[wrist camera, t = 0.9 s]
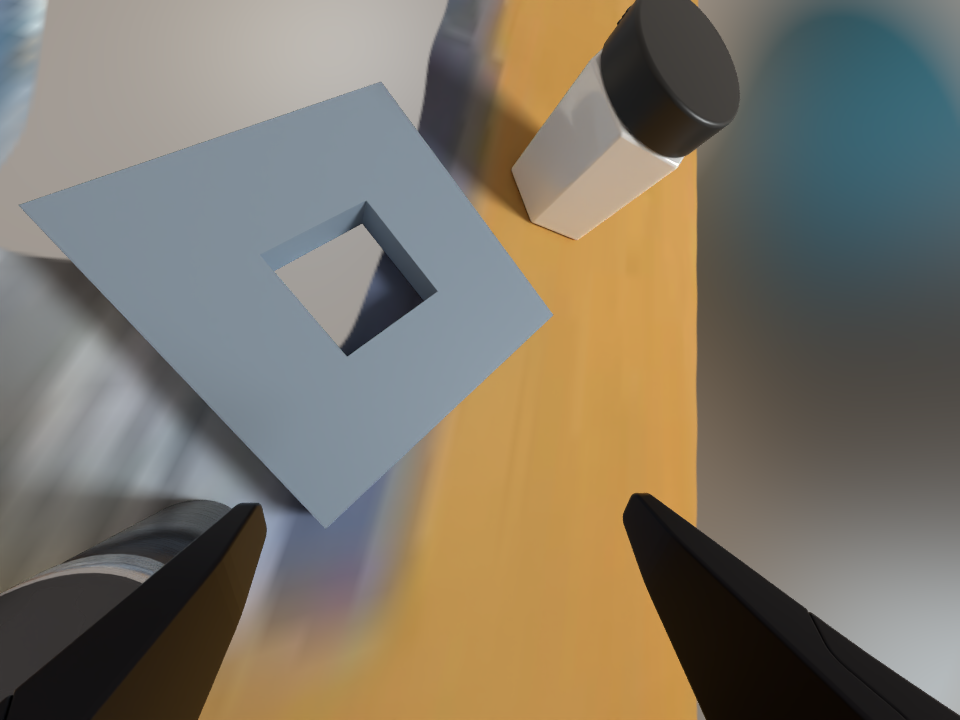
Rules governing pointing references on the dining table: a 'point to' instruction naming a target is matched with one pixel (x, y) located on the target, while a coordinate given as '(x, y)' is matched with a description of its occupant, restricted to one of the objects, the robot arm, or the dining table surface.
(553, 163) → the jar
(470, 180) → the dining table surface
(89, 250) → the mount block
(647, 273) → the dining table surface
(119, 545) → the lens
